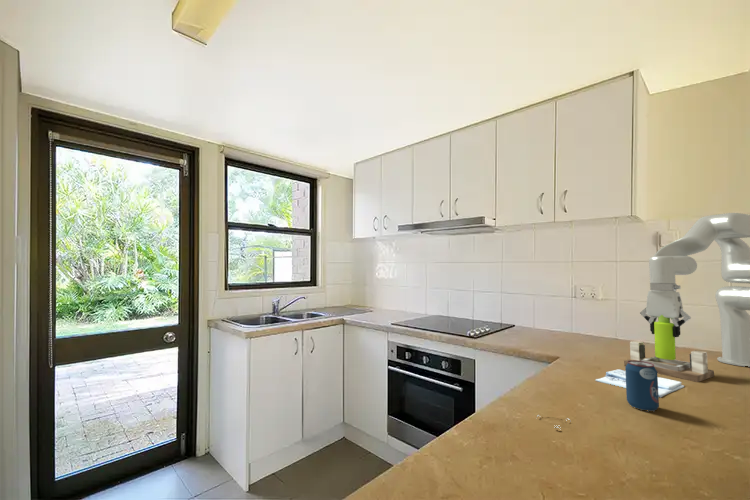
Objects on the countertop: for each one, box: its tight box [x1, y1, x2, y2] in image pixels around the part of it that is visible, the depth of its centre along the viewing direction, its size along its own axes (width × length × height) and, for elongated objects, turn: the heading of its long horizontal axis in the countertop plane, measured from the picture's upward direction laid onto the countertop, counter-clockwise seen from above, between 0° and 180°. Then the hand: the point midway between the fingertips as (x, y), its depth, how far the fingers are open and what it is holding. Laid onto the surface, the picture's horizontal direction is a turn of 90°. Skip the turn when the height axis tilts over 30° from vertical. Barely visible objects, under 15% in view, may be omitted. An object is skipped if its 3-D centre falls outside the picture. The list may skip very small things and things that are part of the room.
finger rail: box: [623, 340, 715, 383], centre depth 126 cm, size 14×22×9 cm, turn 28°
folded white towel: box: [595, 368, 685, 399], centre depth 111 cm, size 19×20×2 cm
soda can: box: [624, 359, 660, 412], centre depth 92 cm, size 7×7×12 cm
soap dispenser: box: [653, 315, 677, 360], centre depth 126 cm, size 6×7×20 cm
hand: (665, 334), depth 127 cm, fingers closed on soap dispenser, 6 cm apart
